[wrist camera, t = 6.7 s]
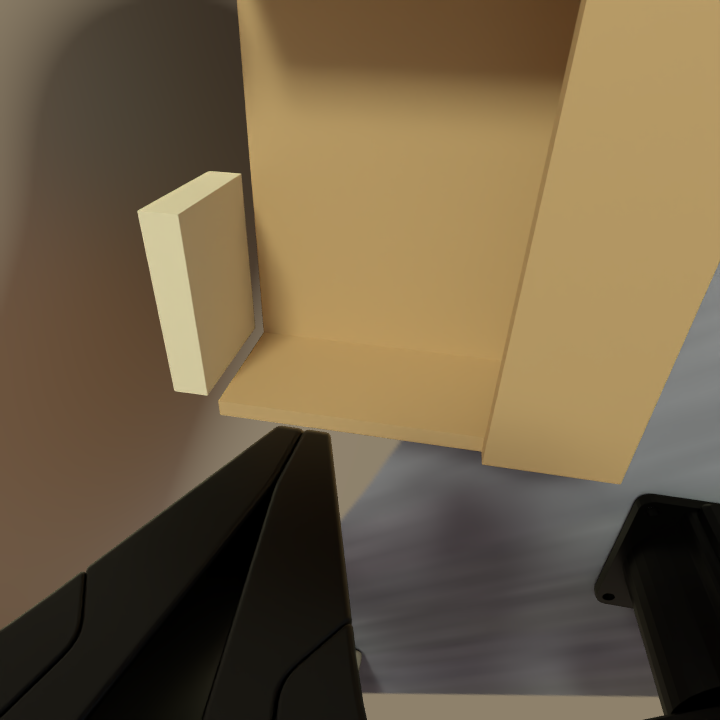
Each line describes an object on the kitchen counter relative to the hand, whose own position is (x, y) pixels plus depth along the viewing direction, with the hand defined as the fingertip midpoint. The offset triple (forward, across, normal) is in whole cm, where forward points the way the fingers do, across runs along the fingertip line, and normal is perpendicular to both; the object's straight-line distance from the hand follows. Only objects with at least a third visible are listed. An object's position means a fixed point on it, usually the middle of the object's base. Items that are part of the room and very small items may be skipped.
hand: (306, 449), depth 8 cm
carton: (+10, -1, -2) cm, 10 cm away
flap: (+9, +5, +1) cm, 10 cm away
